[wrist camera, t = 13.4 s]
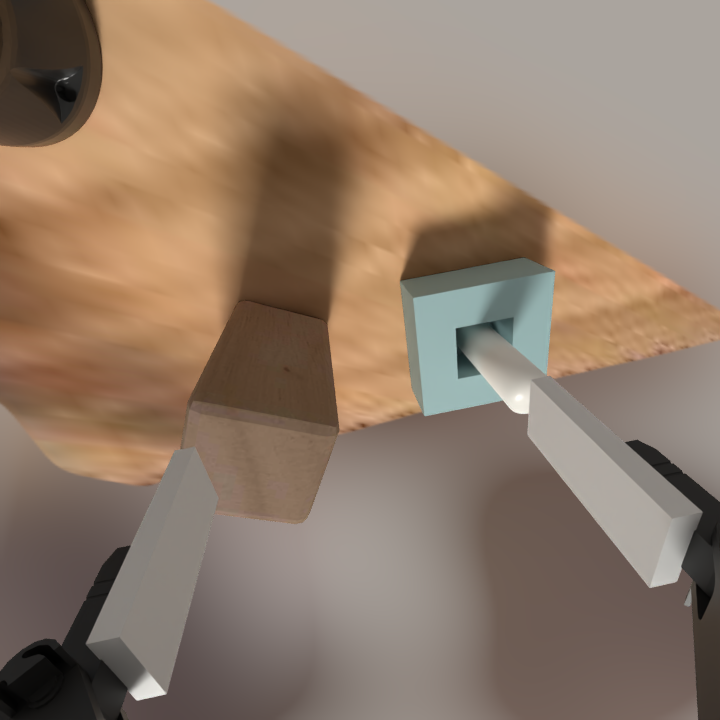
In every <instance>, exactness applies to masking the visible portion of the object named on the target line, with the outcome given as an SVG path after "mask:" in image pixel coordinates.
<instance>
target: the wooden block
mask: <svg viewBox="0 0 720 720" xmlns="http://www.w3.org/2000/svg"><path fill="white" fill-rule="evenodd" d="M338 433H339V422H338V414H337V405H336V396H335V387H334V379H333V370H332V361H331V352H330V344H329V335H328V327H327V323H325V322H324V321H323V320H321V319H317V318H313V317H309V316H305V315H301V314H297V313H293V312H289V311H285V310H282V309H278V308H274V307H270V306H266V305H262V304H258V303H254V302H250V301H239V303H238V304H237V305H236V307H235V309H234V311H233V313H232V315H231V317H230V319H229V321H228V323H227V325H226V327H225V329H224V331H223V333H222V335H221V337H220V339H219V341H218V342H217V344H216V346H215V348H214V350H213V352H212V354H211V356H210V358H209V360H208V362H207V364H206V366H205V368H204V370H203V372H202V374H201V376H200V378H199V380H198V382H197V384H196V386H195V388H194V390H193V392H192V394H191V396H190V398H189V400H188V403H187V410H186V416H185V423H184V429H183V436H182V442H181V449H186V448H191V447H195V448H196V450H197V452H198V454H199V457H200V459H201V461H202V463H203V465H204V467H205V470H206V472H207V474H208V476H209V478H210V480H211V483H212V485H213V487H214V489H215V491H216V493H217V496H218V498H219V499H218V502H217V506H216V510H215V514H219V515H227V516H235V517H243V518H251V519H259V520H268V521H275V522H284V523H291V524H297V523H302V522H303V521H304V520H306V519H307V517H308V515H309V513H310V511H311V508H312V505H313V502H314V500H315V497H316V494H317V491H318V488H319V485H320V483H321V480H322V477H323V475H324V471H325V469H326V466H327V463H328V461H329V458H330V455H331V452H332V449H333V446H334V444H335V441H336V438H337V435H338ZM181 449H180V450H181Z"/></svg>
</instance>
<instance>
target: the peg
mask: <svg viewBox="0 0 720 720" xmlns="http://www.w3.org/2000/svg"><path fill="white" fill-rule="evenodd" d="M456 345H457V346H458V347H459V348H460V350H461V351H462V352H463V353H464V354H465V356H466V357H467V358H468V359H469V360H470V361H471V363H472V364H473V365H474V366H475V367H476V369H477V370H478V371H479V372H480V373H481V375H482V376H483V377H484V378H485V379H486V380H487V382H488V383H489V384H490V385H491V386H492V388H493V389H494V390H495V391H496V392H497V394H498V395H499V396H500V397H501V398H502V400H503V401H504V402H505V403H506V404H507V405H508V407H509V408H510V409H511V410H512V411H514V412H516V413H520V414H528V413H529V401H530V384H531V379H536V378H541V377H546V376H547V375H545V374H544V373H543V372H542V371H541V370H540V369H538V368H537V367H536V366H535V365H534V364H533V363H532V362H530V361H529V360H528V359H527V358H526V357H525V356H524V355H522V354H521V353H520V352H519V351H518V350H517V349H516V348H514V347H513V346H512V345H511V344H510V343H509V342H507V341H506V340H505V339H504V338H503V337H502V336H501V335H499V334H498V333H497V332H496V331H495V330H494V329H493V328H491V327H490V326H489V325H488V324H487V323H481V324H476V325H470V326H465V327H460V328H456Z"/></svg>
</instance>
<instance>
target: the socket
mask: <svg viewBox="0 0 720 720" xmlns="http://www.w3.org/2000/svg"><path fill="white" fill-rule="evenodd" d="M554 278H555V271H554V270H552V269H549V268H547V267H545V266H543V265H540V264H538V263H536V262H534V261H532V260H529V259H527V258H525V257H524V258H518V259H513V260H508V261H502V262H497V263H492V264H487V265H481V266H476V267H471V268H465V269H460V270H455V271H450V272H444V273H439V274H434V275H428V276H423V277H418V278H412V279H407V280H402V281H400V286H401V295H402V304H403V313H404V322H405V331H406V340H407V349H408V358H409V367H410V377H411V386H412V390H413V392H414V394H415V397H416V399H417V401H418V403H419V405H420V408H421V410H422V412H423V414H424V416H428V415H433V414H438V413H443V412H448V411H453V410H458V409H463V408H468V407H473V406H477V405H482V404H488V403H493V402H498V401H503V400H502V398H501V397H500V396H499V395H498V394H497V392H496V391H495V390H494V389H493V388H492V386H491V385H490V384H489V383H488V382H487V380H486V379H485V378H484V377H483V376H482V375H481V373H480V372H479V371H478V370H477V369H476V367H475V366H474V365H473V364H472V363H471V361H470V360H469V359H468V358H467V357H466V356H465V354H464V353H463V352H462V351H461V350H460V348H459V347H458V346H457V345H456V328H460V327H465V326H470V325H476V324H481V323H487V324H488V325H489V326H490V327H491V328H493V329H494V330H495V331H496V332H497V333H498V334H499V335H501V336H502V337H503V338H504V339H505V340H506V341H507V342H509V343H510V344H511V345H512V346H513V347H514V348H516V349H517V350H518V351H519V352H520V353H521V354H522V355H524V356H525V357H526V358H527V359H528V360H529V361H530V362H532V363H533V364H534V365H535V366H536V367H537V368H538V369H540V370H541V371H542V372H543V373H544V374H545V375H547V363H548V351H549V339H550V327H551V315H552V303H553V290H554Z"/></svg>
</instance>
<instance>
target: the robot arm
mask: <svg viewBox="0 0 720 720" xmlns="http://www.w3.org/2000/svg"><path fill="white" fill-rule="evenodd" d="M101 75H102V64H101V53H100V46H99V42H98V37H97V33H96V30H95V26H94V23H93V20H92V17H91V15H90V13H89V10H88V8H87V5H86V3H85V1H84V0H0V145H2V146H14V147H42V146H47V145H52V144H55V143H58V142H60V141H63V140H65V139H67V138H68V137H70V136H71V135H73V134H74V133H75V132H77V131H78V130H79V129H80V128H81V127H82V126H83V125H84V124H85V122H86V121H87V120H88V118H89V117H90V115H91V113H92V111H93V109H94V107H95V105H96V102H97V99H98V95H99V91H100V86H101ZM527 435H528V436H529V438H530V439H531V440H532V441H533V443H534V444H535V445H536V446H537V448H538V449H539V450H540V451H541V452H542V454H543V455H544V456H545V457H546V459H547V460H548V461H549V463H550V464H551V465H552V466H553V468H554V469H555V470H556V471H557V473H558V474H559V475H560V476H561V478H562V479H563V480H564V481H565V483H566V484H567V485H568V486H569V488H570V489H571V490H572V491H573V493H574V494H575V495H576V496H577V498H578V499H579V500H580V501H581V502H582V504H583V505H584V506H585V507H586V509H587V510H588V511H589V513H590V514H591V515H592V516H593V518H594V519H595V520H596V521H597V523H598V524H599V525H600V526H601V528H602V529H603V530H604V531H605V533H606V534H607V535H608V536H609V538H610V539H611V540H612V541H613V543H614V544H615V545H616V546H617V548H618V549H619V550H620V551H621V553H622V554H623V555H624V556H625V558H626V559H627V560H628V561H629V563H630V564H631V565H632V566H633V568H634V569H635V570H636V571H637V573H638V574H639V575H640V576H641V578H642V579H643V580H644V581H645V582H646V584H647V585H648V586H649V588H651V587H655V586H660V585H664V584H668V583H674V582H677V579H678V577H679V574H680V571H681V569H682V568H683V569H684V570H685V572H686V573H687V574H688V575H689V576H690V577H691V578H692V579H693V582H692V584H691V587H690V589H689V592H688V594H687V597H686V600H685V603H684V605H686V606H690V604H691V602H692V616H693V635H694V652H695V670H696V689H697V707H698V720H720V502H719V501H718V500H717V499H715V498H714V497H713V496H712V495H710V494H709V493H708V492H707V491H705V489H703V488H702V487H701V486H700V485H699V484H697V483H696V482H695V481H694V480H692V479H691V478H690V477H689V476H688V475H687V474H683V472H682V470H680V469H679V468H678V467H677V466H676V465H674V464H671V462H670V460H668V459H667V458H666V457H665V456H664V455H662V454H661V453H660V452H659V451H658V450H656V449H655V448H653V447H651V446H649V445H646V444H644V443H642V442H640V441H638V440H634V441H629V442H624V441H622V440H621V439H620V438H619V437H618V436H616V434H615V433H613V432H612V431H611V430H610V429H609V428H608V427H607V426H606V425H604V424H603V423H602V422H601V421H600V420H598V418H597V417H595V416H594V415H593V414H592V413H591V412H590V411H589V410H588V409H586V408H585V407H584V406H583V405H582V404H581V403H580V402H578V400H576V399H575V398H574V397H573V396H572V395H571V394H570V393H569V392H567V391H566V390H565V389H564V388H563V387H562V386H561V385H560V384H558V383H557V382H556V381H555V380H554V379H553V378H552V377H551V376H546V377H541V378H536V379H531V384H530V401H529V419H528V434H527ZM218 499H219V498H218V496H217V493H216V491H215V489H214V487H213V485H212V483H211V480H210V478H209V476H208V474H207V472H206V470H205V467H204V465H203V463H202V461H201V459H200V457H199V454H198V452H197V450H196V448H195V447H191V448H186V449H181V450H176V451H174V453H173V456H172V458H171V460H170V462H169V464H168V466H167V469H166V471H165V473H164V475H163V477H162V479H161V482H160V484H159V486H158V488H157V490H156V493H155V495H154V497H153V499H152V501H151V503H150V505H149V508H148V510H147V512H146V514H145V517H144V519H143V521H142V523H141V525H140V527H139V530H138V532H137V534H136V536H135V538H134V540H133V542H132V545H131V546H126V547H121V548H117V549H116V550H115V551H114V553H113V554H112V555H111V556H110V557H109V558H108V559H107V561H106V562H105V563H104V564H103V565H102V567H101V569H100V571H99V573H98V575H97V577H96V579H95V581H94V586H92V587H91V589H90V591H89V593H88V595H87V599H86V601H84V603H83V605H82V607H81V609H80V611H79V613H78V615H77V616H76V618H75V620H74V623H73V624H72V627H71V628H70V630H69V632H68V634H67V636H66V638H65V640H64V642H63V644H62V646H61V645H60V644H59V643H58V642H57V641H56V640H54V639H43V640H40V641H37V642H34V643H33V644H31V645H29V646H28V647H26V648H24V649H22V650H21V651H20V652H19V653H18V654H16V655H15V656H14V657H13V658H12V659H11V660H10V661H9V662H7V664H6V665H5V666H4V667H3V669H2V670H1V671H0V720H128V717H127V714H126V712H125V711H124V710H123V709H122V708H121V707H122V704H123V702H124V698H125V695H126V692H127V690H128V691H129V692H130V693H131V694H132V696H133V697H134V698H135V699H136V700H141V699H146V698H151V697H155V696H160V695H164V694H167V690H168V687H169V683H170V679H171V675H172V671H173V668H174V664H175V660H176V656H177V653H178V649H179V645H180V641H181V638H182V634H183V630H184V626H185V622H186V619H187V615H188V611H189V607H190V604H191V600H192V596H193V593H194V589H195V585H196V581H197V577H198V574H199V570H200V566H201V562H202V558H203V555H204V551H205V547H206V544H207V540H208V536H209V532H210V529H211V525H212V521H213V517H214V514H215V510H216V506H217V502H218Z"/></svg>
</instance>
